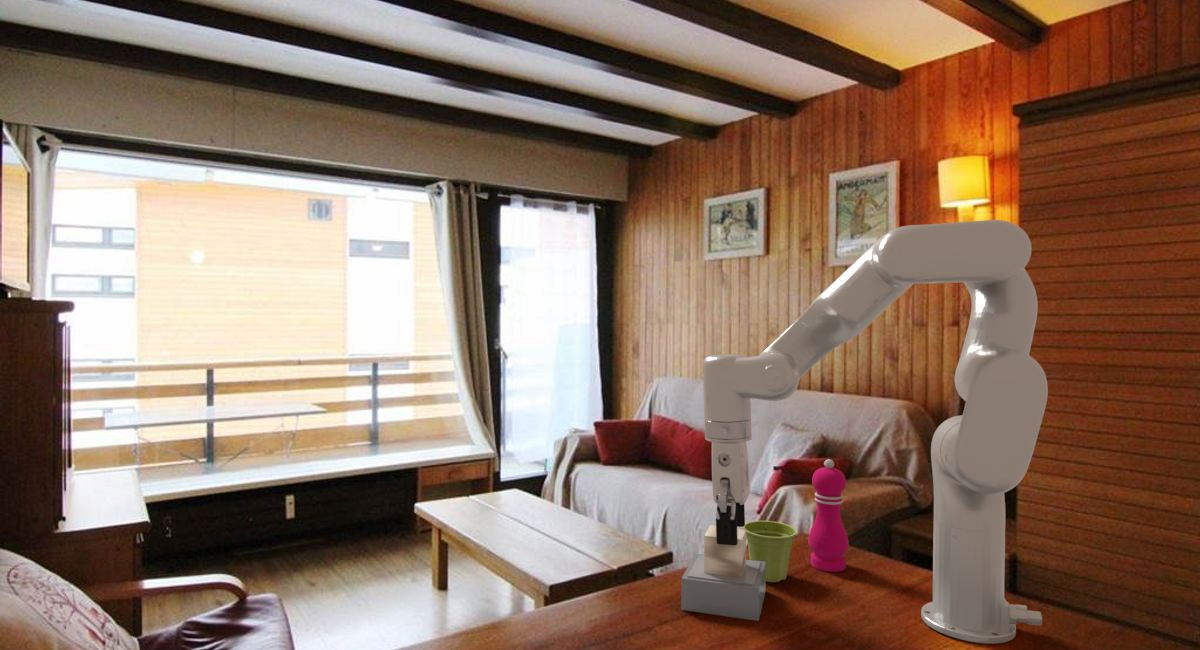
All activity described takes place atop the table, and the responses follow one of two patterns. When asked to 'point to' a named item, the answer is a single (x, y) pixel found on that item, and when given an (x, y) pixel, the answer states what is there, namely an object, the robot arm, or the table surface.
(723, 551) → the birch block
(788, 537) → the plant pot
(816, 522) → the pepper mill
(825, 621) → the table surface
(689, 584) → the slate stand
